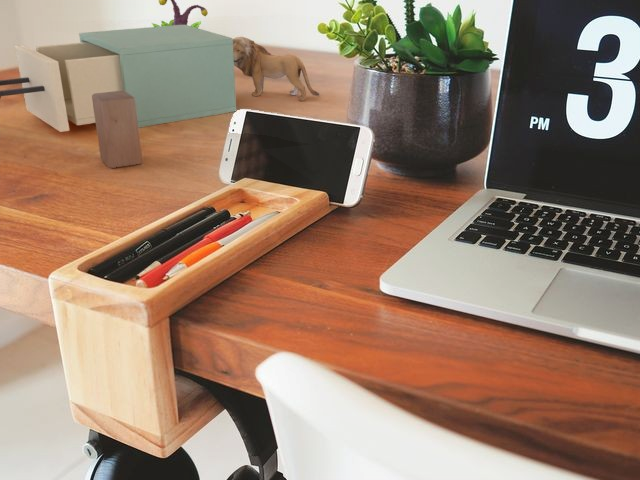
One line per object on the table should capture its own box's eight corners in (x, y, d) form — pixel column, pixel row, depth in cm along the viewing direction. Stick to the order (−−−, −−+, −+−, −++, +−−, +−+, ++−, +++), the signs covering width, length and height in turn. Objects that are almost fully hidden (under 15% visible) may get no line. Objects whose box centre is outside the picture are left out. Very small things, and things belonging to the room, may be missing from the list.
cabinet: (130, 129, 98) (120, 48, 93) (89, 106, 108) (78, 32, 103) (236, 111, 108) (232, 38, 103) (190, 92, 118) (184, 24, 113)
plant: (122, 47, 151) (115, -10, 145) (214, 43, 158) (211, -12, 153) (138, 66, 135) (130, 2, 129) (240, 60, 142) (236, 0, 137)
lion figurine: (226, 96, 116) (222, 38, 112) (236, 89, 120) (233, 33, 116) (316, 102, 114) (315, 43, 110) (322, 94, 119) (322, 38, 115)
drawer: (5, 140, 89) (-10, 68, 85) (-25, 117, 98) (-40, 50, 94) (171, 114, 102) (165, 50, 98) (131, 95, 111) (124, 36, 107)
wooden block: (109, 169, 83) (99, 100, 80) (100, 160, 86) (90, 93, 83) (143, 164, 85) (135, 96, 82) (133, 155, 88) (125, 89, 85)
